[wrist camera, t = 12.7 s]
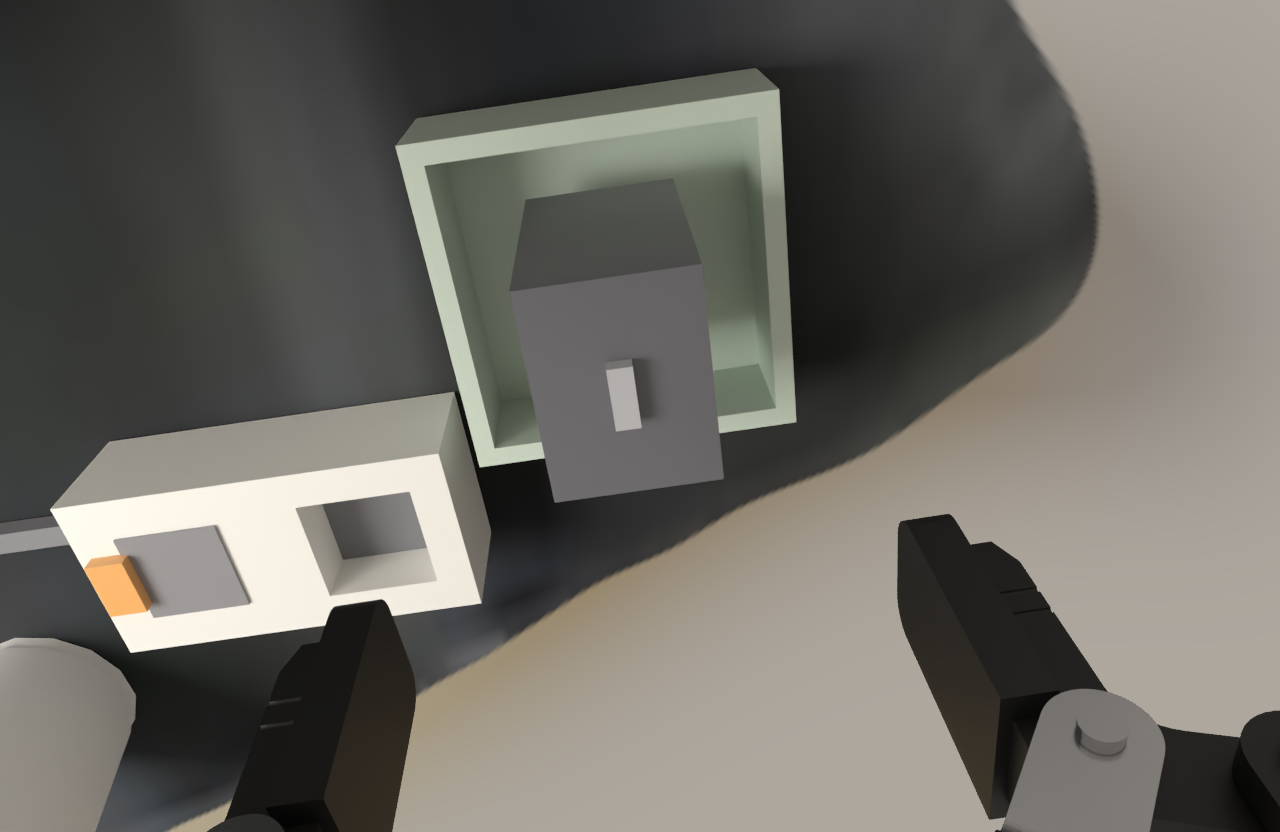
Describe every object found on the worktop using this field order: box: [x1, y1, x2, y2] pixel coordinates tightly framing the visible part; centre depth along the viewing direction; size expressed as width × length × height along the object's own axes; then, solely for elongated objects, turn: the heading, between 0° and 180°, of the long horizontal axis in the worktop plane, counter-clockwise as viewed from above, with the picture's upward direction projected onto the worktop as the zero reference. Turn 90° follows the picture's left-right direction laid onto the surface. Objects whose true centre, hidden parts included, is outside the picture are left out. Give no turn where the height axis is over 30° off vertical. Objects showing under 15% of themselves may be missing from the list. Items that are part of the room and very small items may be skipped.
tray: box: [395, 68, 796, 467], centre depth 27 cm, size 10×10×4 cm
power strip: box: [0, 392, 491, 653], centre depth 30 cm, size 6×18×4 cm, turn 98°
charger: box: [509, 178, 724, 503], centre depth 24 cm, size 6×4×9 cm
